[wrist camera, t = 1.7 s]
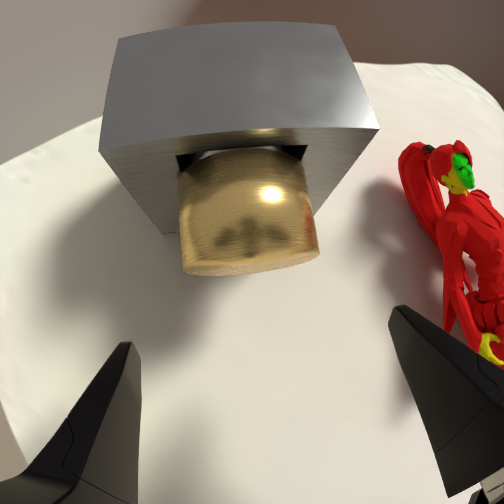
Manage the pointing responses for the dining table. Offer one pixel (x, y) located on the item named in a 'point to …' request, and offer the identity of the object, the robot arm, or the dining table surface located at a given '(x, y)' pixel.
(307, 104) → the housing
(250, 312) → the dining table surface
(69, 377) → the dining table surface
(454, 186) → the figurine
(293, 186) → the gold cylindrical piece
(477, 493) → the robot arm
